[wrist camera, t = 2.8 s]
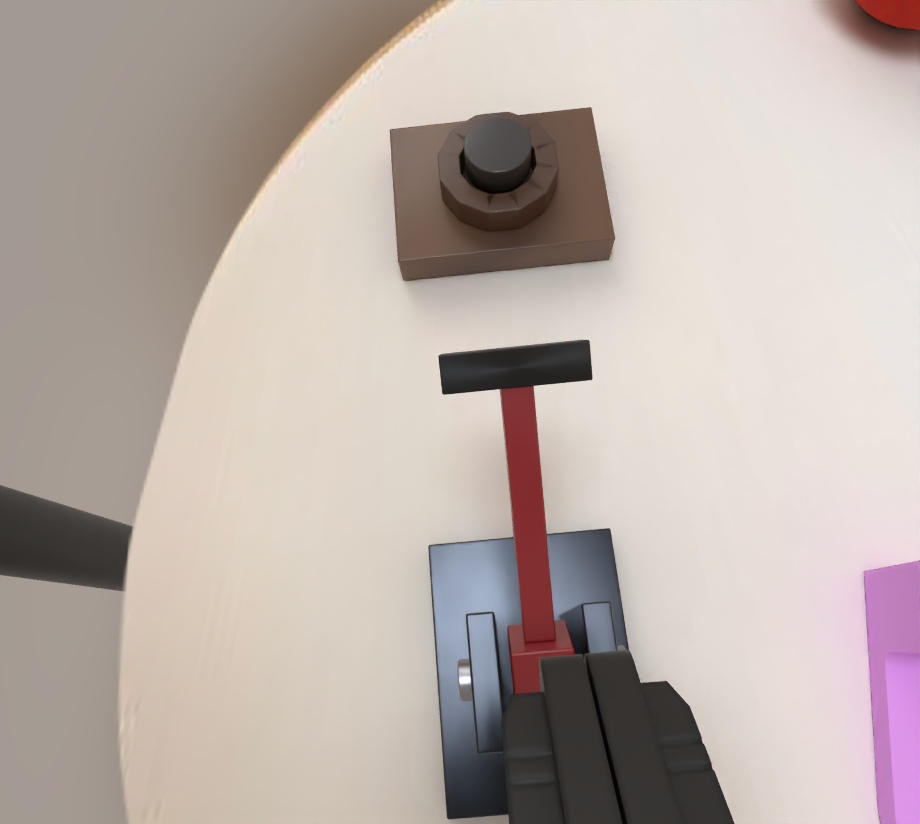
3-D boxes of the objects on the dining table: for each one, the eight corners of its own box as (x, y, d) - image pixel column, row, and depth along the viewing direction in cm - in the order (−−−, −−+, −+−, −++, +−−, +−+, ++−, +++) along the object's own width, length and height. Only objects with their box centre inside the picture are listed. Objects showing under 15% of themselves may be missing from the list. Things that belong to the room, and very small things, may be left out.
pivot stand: (430, 548, 35) (401, 509, 25) (606, 531, 35) (650, 486, 25) (449, 813, 31) (423, 896, 21) (647, 797, 31) (718, 873, 21)
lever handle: (440, 353, 25) (437, 355, 22) (580, 339, 24) (592, 340, 22) (476, 698, 26) (476, 735, 24) (608, 686, 26) (622, 722, 24)
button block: (403, 280, 40) (393, 243, 36) (395, 153, 43) (384, 106, 39) (609, 259, 40) (620, 219, 36) (587, 132, 43) (595, 83, 39)
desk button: (468, 196, 38) (466, 175, 36) (462, 142, 39) (460, 119, 37) (534, 189, 37) (535, 168, 36) (526, 135, 39) (527, 112, 37)
